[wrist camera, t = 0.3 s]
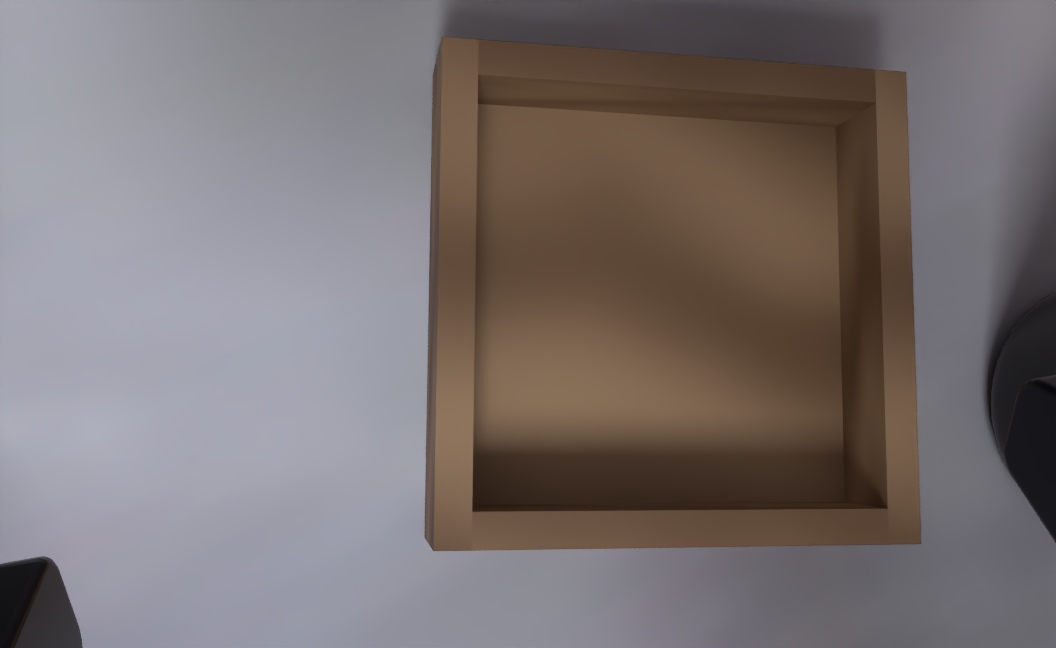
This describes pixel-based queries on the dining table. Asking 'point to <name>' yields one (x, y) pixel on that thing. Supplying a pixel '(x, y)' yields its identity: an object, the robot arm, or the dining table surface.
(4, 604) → the robot arm
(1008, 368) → the supplement bottle
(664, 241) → the walnut holder
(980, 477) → the dining table surface
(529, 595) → the dining table surface
